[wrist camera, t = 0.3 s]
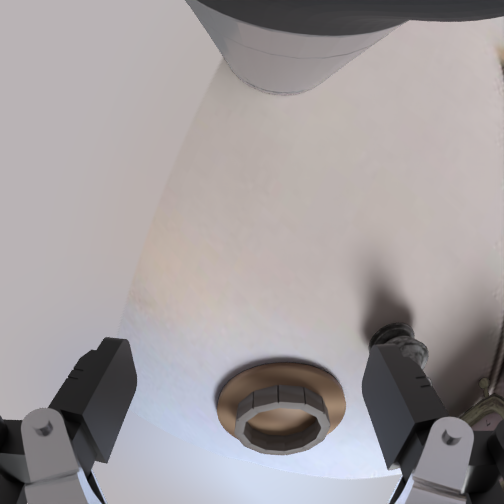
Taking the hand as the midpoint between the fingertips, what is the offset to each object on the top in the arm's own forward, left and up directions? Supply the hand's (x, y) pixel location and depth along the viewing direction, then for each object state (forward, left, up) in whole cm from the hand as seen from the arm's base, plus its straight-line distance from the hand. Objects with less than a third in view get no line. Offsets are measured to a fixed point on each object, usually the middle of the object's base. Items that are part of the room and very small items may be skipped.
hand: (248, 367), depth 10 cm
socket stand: (+23, +6, -18) cm, 29 cm away
